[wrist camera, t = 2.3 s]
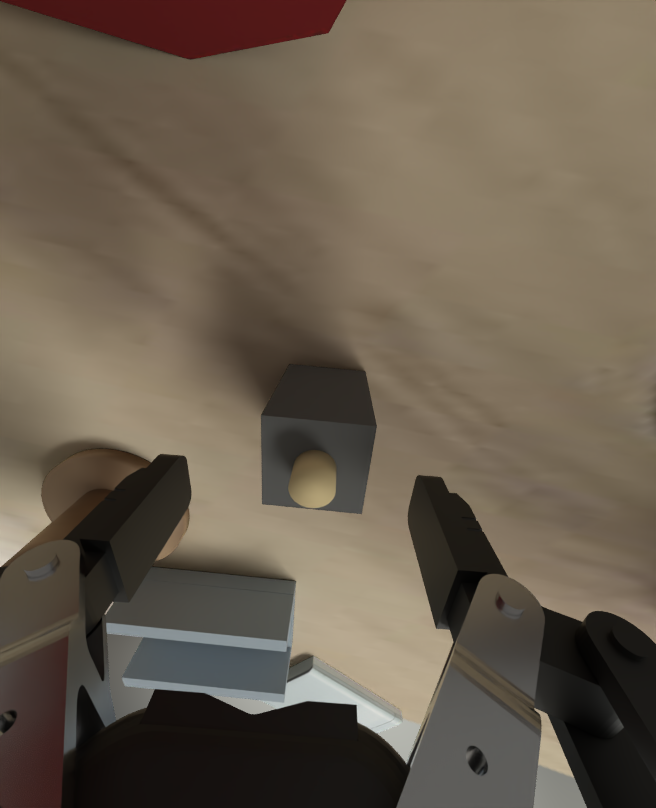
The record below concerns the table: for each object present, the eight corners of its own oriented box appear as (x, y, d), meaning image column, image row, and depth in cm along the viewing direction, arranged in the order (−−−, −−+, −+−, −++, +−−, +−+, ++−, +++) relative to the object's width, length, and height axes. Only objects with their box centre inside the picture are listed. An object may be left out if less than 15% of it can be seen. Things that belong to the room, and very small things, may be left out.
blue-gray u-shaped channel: (295, 581, 23) (286, 640, 19) (292, 642, 26) (283, 703, 23) (138, 565, 23) (100, 621, 19) (155, 628, 26) (125, 686, 23)
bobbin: (181, 455, 19) (24, 637, 9) (195, 557, 22) (93, 757, 13) (36, 441, 19) (-256, 608, 10) (75, 545, 22) (-109, 735, 13)
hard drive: (252, 699, 29) (342, 747, 32) (312, 670, 26) (404, 726, 29) (256, 677, 30) (342, 726, 33) (314, 648, 27) (401, 703, 31)
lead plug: (365, 371, 16) (380, 444, 9) (356, 436, 18) (363, 538, 11) (289, 364, 16) (251, 432, 9) (287, 430, 18) (254, 527, 11)
